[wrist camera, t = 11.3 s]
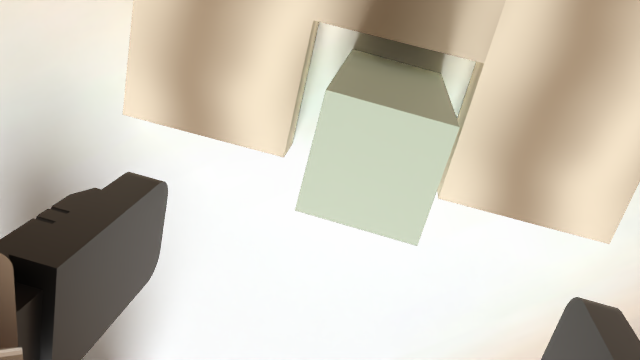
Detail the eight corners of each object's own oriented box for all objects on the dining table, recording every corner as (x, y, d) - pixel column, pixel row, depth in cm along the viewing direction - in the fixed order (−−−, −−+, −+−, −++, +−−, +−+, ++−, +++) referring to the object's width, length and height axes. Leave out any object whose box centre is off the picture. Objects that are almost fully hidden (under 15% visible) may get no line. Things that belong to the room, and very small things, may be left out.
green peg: (440, 73, 24) (459, 127, 16) (413, 156, 26) (417, 245, 17) (352, 49, 24) (325, 90, 16) (330, 133, 26) (294, 210, 18)
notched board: (748, -108, 20) (783, -116, 19) (594, 224, 26) (609, 244, 24) (179, -240, 22) (158, -260, 20) (142, 104, 27) (122, 114, 25)
